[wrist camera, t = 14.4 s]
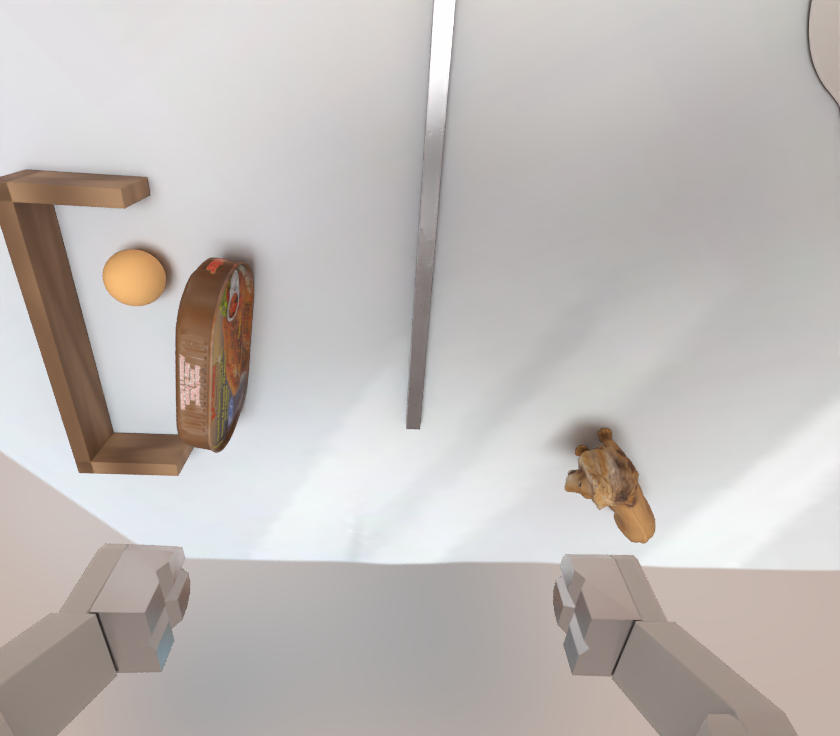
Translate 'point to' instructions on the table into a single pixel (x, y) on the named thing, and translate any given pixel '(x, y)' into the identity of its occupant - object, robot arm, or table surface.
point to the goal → (75, 317)
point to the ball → (134, 277)
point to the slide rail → (429, 200)
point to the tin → (213, 352)
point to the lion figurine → (613, 487)
